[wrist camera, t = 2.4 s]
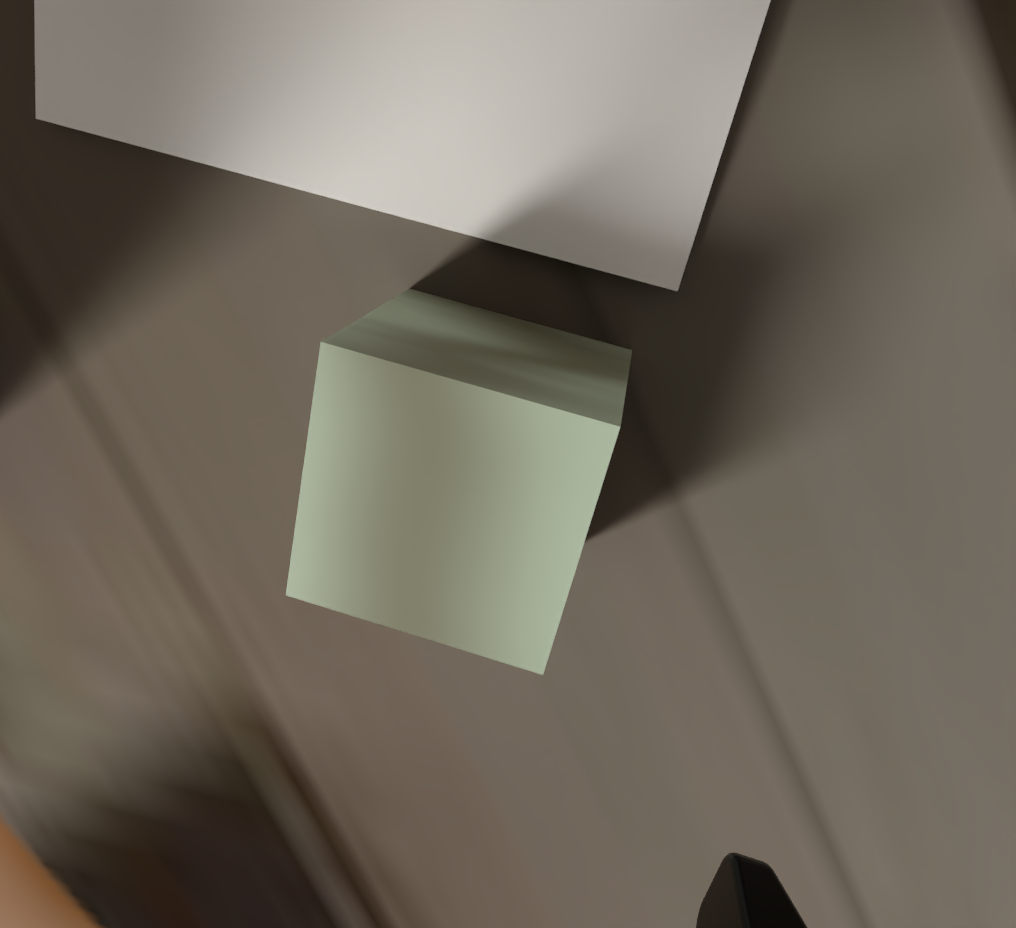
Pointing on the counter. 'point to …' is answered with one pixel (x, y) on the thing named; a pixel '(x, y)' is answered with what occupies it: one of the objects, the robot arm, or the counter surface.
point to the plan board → (430, 107)
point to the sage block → (454, 473)
